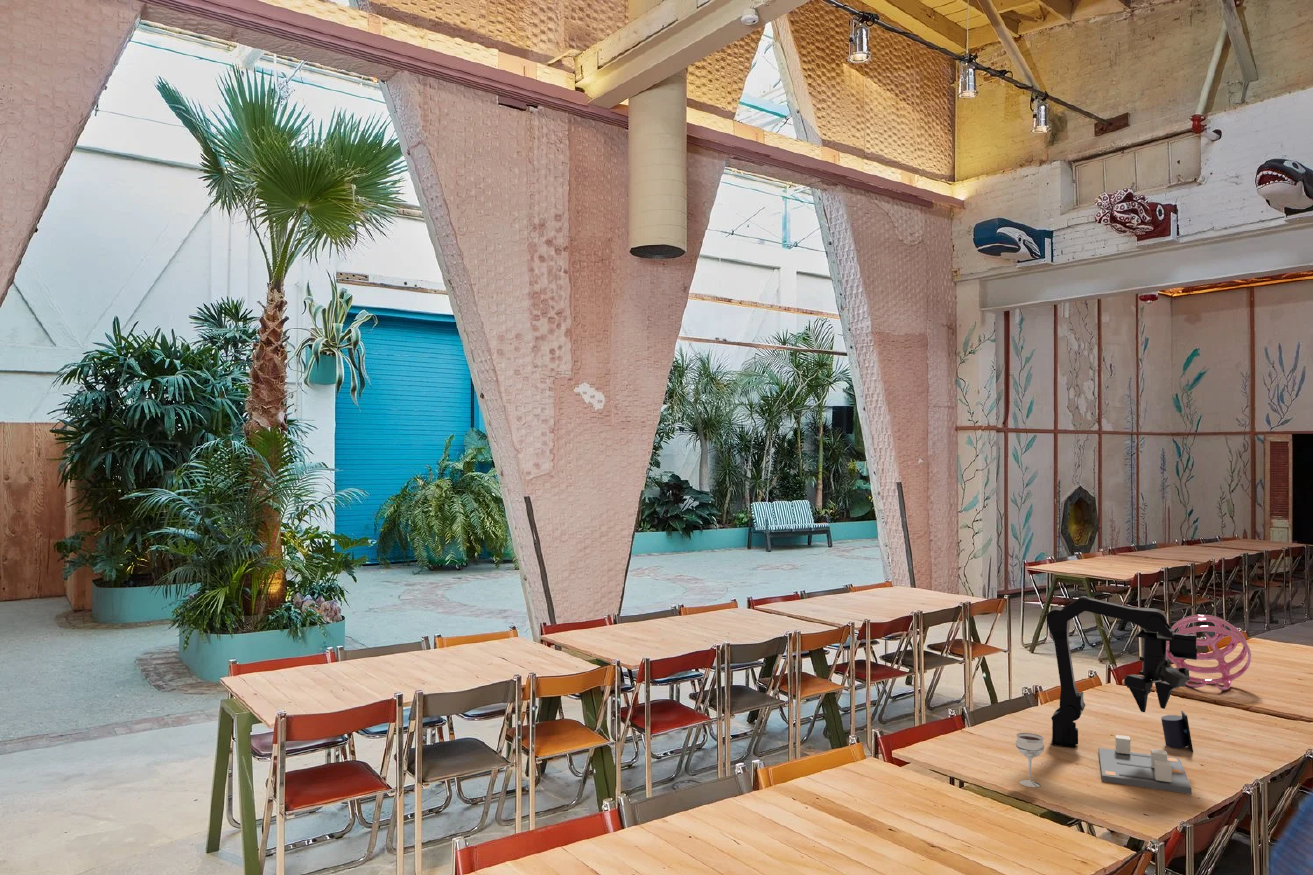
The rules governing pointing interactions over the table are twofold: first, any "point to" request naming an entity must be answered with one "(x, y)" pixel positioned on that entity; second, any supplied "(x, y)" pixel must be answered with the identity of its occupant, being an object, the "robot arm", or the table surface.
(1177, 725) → the speaker
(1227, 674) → the spiral basket
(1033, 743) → the wineglass
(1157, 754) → the switch mid
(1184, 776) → the switch board
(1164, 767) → the switch near
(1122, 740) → the switch far
